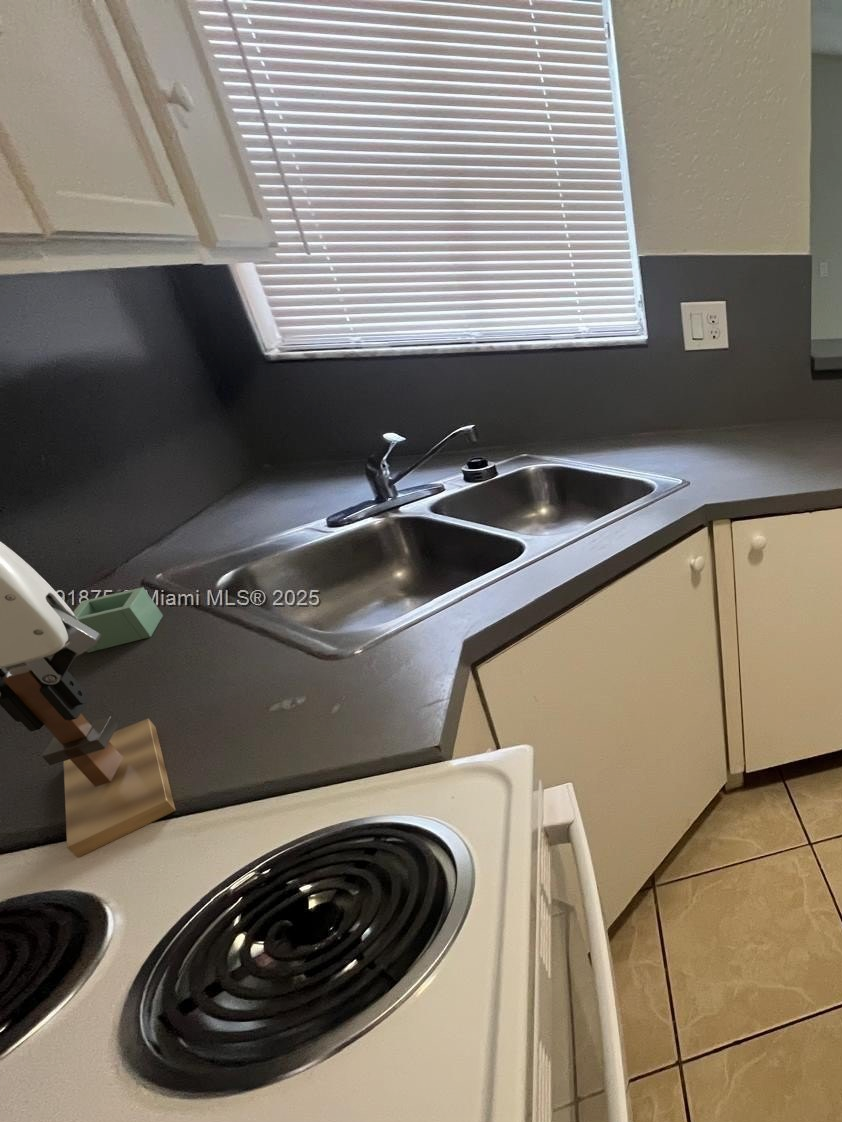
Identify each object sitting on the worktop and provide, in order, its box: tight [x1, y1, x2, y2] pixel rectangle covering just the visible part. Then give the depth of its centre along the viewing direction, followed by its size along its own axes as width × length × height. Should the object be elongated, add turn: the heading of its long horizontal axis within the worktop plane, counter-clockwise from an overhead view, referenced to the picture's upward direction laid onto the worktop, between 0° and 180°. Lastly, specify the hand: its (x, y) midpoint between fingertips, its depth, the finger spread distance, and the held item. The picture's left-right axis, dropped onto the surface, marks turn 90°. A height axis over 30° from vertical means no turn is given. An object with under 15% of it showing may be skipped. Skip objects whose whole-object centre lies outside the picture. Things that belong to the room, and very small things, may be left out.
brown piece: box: [2, 664, 123, 787], centre depth 60 cm, size 4×4×13 cm
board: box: [63, 718, 176, 858], centre depth 64 cm, size 18×7×2 cm, turn 47°
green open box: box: [72, 586, 164, 654], centre depth 89 cm, size 7×7×5 cm
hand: (59, 715), depth 60 cm, fingers closed on brown piece
